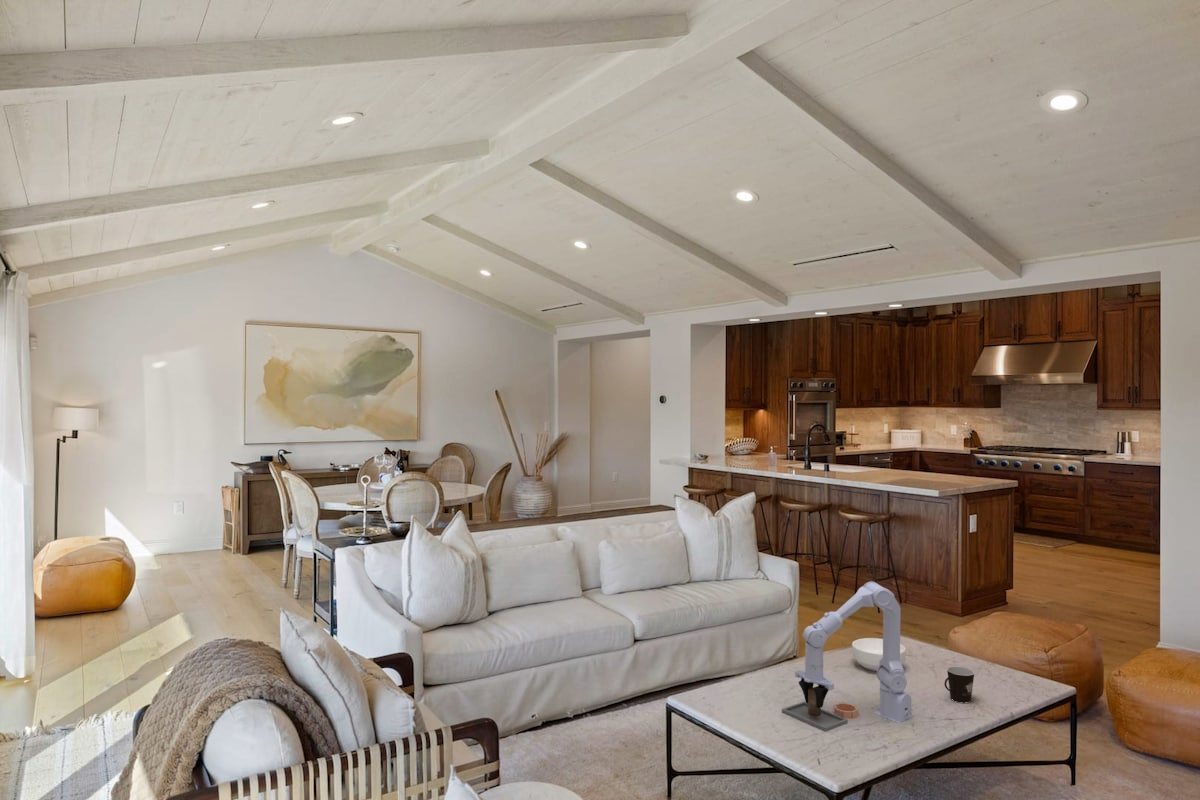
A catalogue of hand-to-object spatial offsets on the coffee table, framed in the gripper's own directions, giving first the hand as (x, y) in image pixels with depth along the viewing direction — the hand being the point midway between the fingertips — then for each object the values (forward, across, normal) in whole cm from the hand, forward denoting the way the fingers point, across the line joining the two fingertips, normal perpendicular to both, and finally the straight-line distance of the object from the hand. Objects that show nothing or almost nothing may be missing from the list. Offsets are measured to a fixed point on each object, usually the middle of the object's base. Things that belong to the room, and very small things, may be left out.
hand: (814, 704), depth 256 cm
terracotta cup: (+5, +4, +11) cm, 13 cm away
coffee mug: (+5, +18, +53) cm, 56 cm away
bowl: (+5, -17, +58) cm, 61 cm away
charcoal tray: (+5, 0, 0) cm, 5 cm away
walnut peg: (+3, 0, 0) cm, 3 cm away
